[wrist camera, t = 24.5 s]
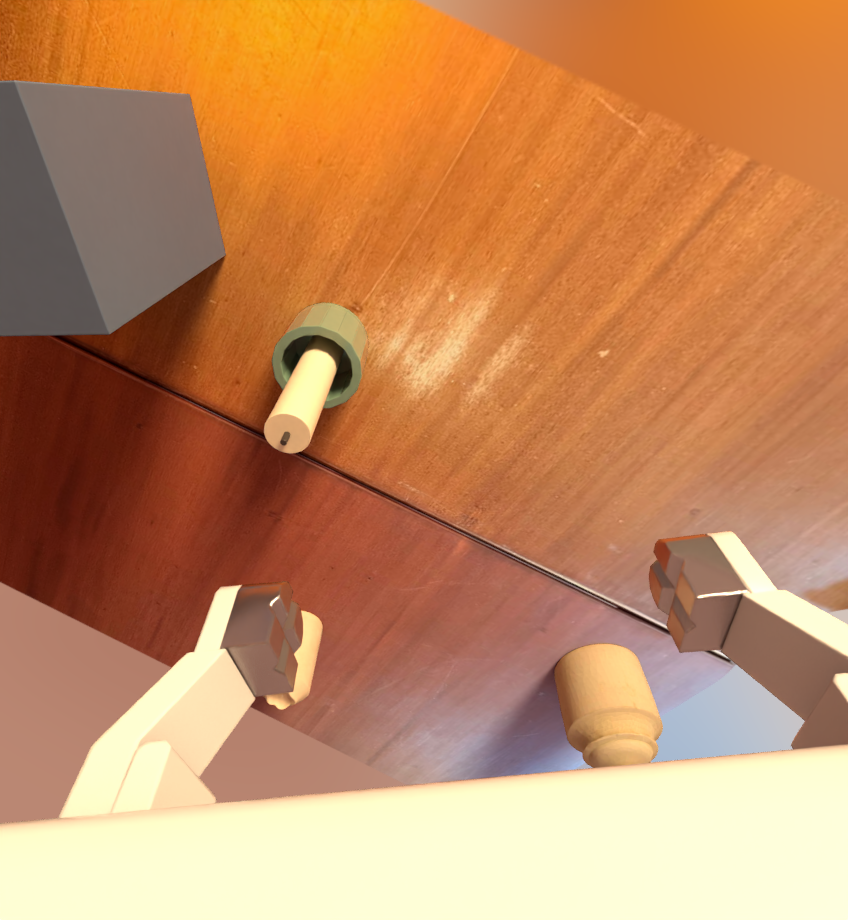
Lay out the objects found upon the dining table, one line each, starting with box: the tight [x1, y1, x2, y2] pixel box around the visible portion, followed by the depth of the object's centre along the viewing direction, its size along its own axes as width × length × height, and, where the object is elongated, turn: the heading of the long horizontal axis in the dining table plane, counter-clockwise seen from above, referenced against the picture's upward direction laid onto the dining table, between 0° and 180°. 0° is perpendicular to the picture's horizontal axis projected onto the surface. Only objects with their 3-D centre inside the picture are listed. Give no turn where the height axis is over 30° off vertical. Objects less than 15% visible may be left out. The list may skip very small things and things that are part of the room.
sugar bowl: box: [554, 644, 663, 768], centre depth 62 cm, size 15×11×15 cm
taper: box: [264, 335, 344, 453], centre depth 36 cm, size 3×3×15 cm
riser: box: [0, 81, 226, 336], centre depth 30 cm, size 10×10×17 cm
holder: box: [272, 303, 369, 408], centre depth 41 cm, size 7×7×6 cm
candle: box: [264, 611, 322, 710], centre depth 59 cm, size 6×6×10 cm
